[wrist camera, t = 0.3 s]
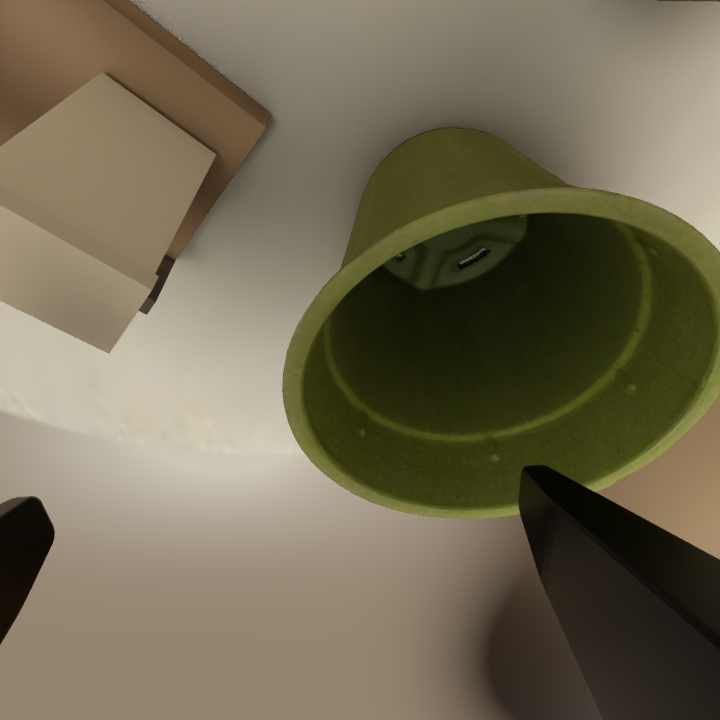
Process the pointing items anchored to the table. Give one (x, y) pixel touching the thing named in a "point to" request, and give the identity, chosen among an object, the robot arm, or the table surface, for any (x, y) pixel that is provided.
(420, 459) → the plant pot
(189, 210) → the brown wooden rack
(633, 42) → the table surface
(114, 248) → the beige rectangular block
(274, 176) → the table surface
